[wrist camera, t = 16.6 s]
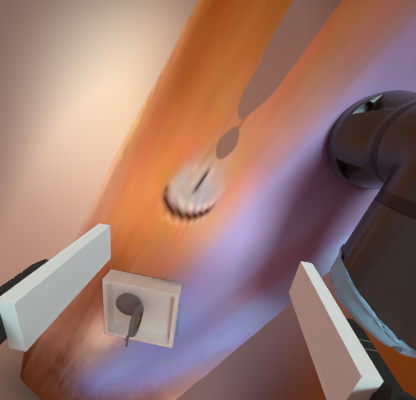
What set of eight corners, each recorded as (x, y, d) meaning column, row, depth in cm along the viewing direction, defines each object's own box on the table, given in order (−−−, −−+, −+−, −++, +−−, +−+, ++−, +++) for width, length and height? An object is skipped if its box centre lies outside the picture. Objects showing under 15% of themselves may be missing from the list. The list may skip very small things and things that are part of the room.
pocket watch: (112, 296, 51) (86, 334, 42) (139, 287, 49) (118, 324, 40) (129, 319, 53) (108, 360, 44) (156, 311, 51) (140, 352, 42)
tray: (182, 283, 49) (179, 294, 46) (175, 334, 55) (172, 348, 52) (110, 269, 50) (102, 279, 46) (111, 321, 56) (104, 333, 53)
